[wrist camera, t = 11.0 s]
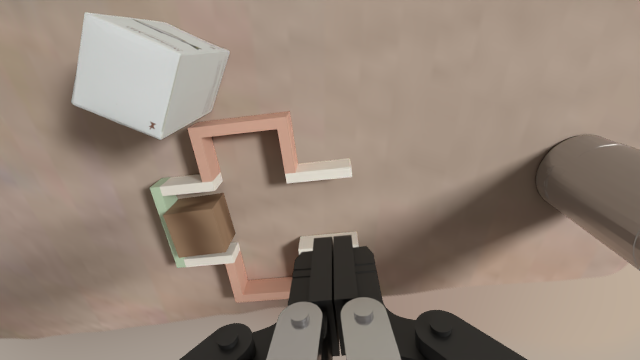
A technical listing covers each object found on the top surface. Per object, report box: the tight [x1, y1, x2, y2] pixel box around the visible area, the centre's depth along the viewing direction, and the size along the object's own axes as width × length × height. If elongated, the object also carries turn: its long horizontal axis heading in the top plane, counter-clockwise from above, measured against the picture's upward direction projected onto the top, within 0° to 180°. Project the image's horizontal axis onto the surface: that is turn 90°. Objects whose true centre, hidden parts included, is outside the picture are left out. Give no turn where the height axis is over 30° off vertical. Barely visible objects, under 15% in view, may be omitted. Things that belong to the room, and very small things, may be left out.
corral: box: [150, 111, 359, 303], centre depth 42 cm, size 24×24×3 cm
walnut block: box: [163, 193, 235, 258], centre depth 42 cm, size 6×6×4 cm
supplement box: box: [71, 12, 230, 140], centre depth 31 cm, size 7×7×13 cm
